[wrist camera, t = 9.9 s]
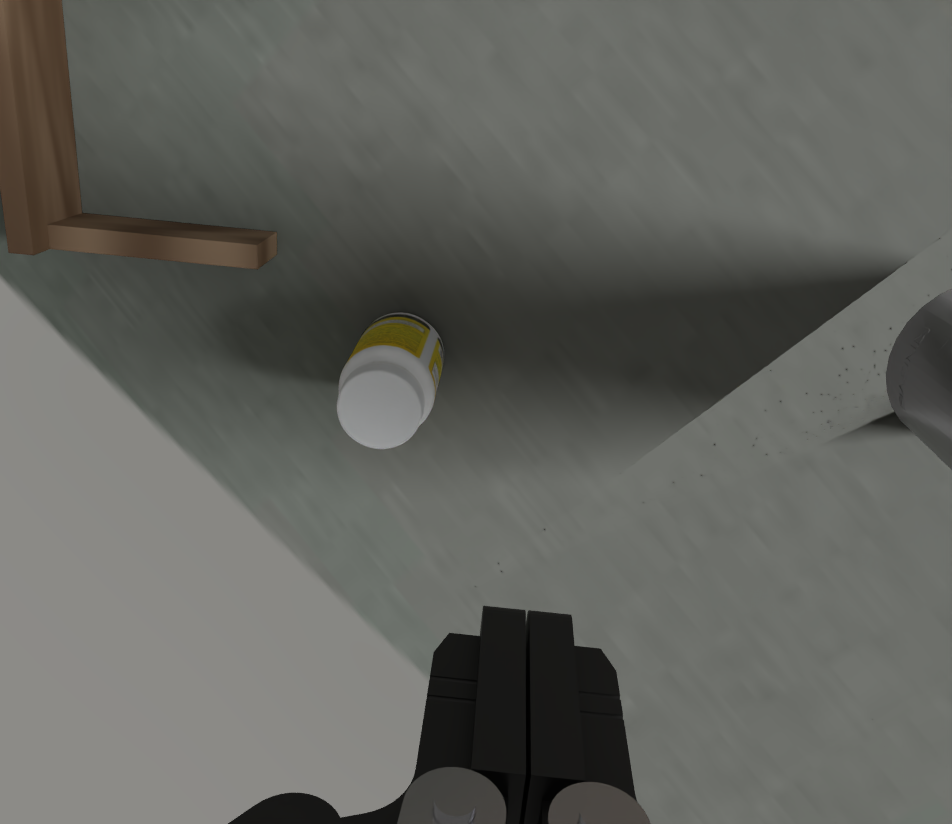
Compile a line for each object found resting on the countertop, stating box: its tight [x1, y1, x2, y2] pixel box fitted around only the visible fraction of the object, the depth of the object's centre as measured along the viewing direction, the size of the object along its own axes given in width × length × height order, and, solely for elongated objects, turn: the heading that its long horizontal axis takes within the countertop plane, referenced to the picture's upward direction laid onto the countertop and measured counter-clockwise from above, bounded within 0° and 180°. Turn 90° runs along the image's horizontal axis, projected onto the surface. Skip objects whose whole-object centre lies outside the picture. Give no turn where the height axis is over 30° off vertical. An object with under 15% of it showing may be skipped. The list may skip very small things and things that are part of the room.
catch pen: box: [0, 0, 277, 269], centre depth 39 cm, size 12×14×5 cm
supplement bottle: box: [337, 312, 444, 449], centre depth 42 cm, size 5×5×8 cm
